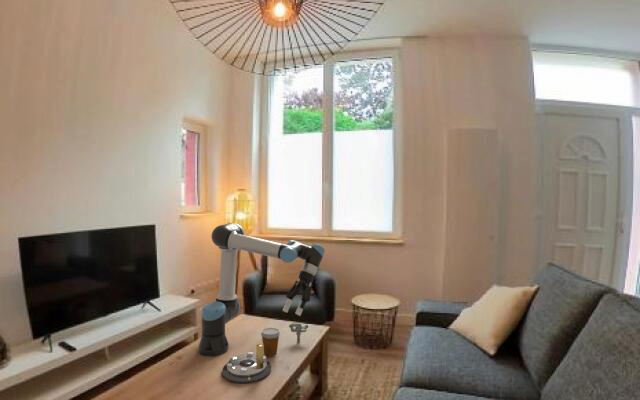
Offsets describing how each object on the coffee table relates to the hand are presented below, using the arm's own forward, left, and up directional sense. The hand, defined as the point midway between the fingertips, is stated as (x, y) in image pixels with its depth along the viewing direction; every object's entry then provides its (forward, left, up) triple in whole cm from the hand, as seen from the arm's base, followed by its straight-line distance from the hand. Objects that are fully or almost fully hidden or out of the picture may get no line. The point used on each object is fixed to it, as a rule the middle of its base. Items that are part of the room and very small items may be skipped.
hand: (290, 313), depth 184 cm
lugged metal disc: (-4, -22, -22) cm, 31 cm away
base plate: (-4, -22, -24) cm, 32 cm away
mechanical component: (-15, +16, -24) cm, 32 cm away
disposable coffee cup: (-12, -4, -24) cm, 27 cm away
